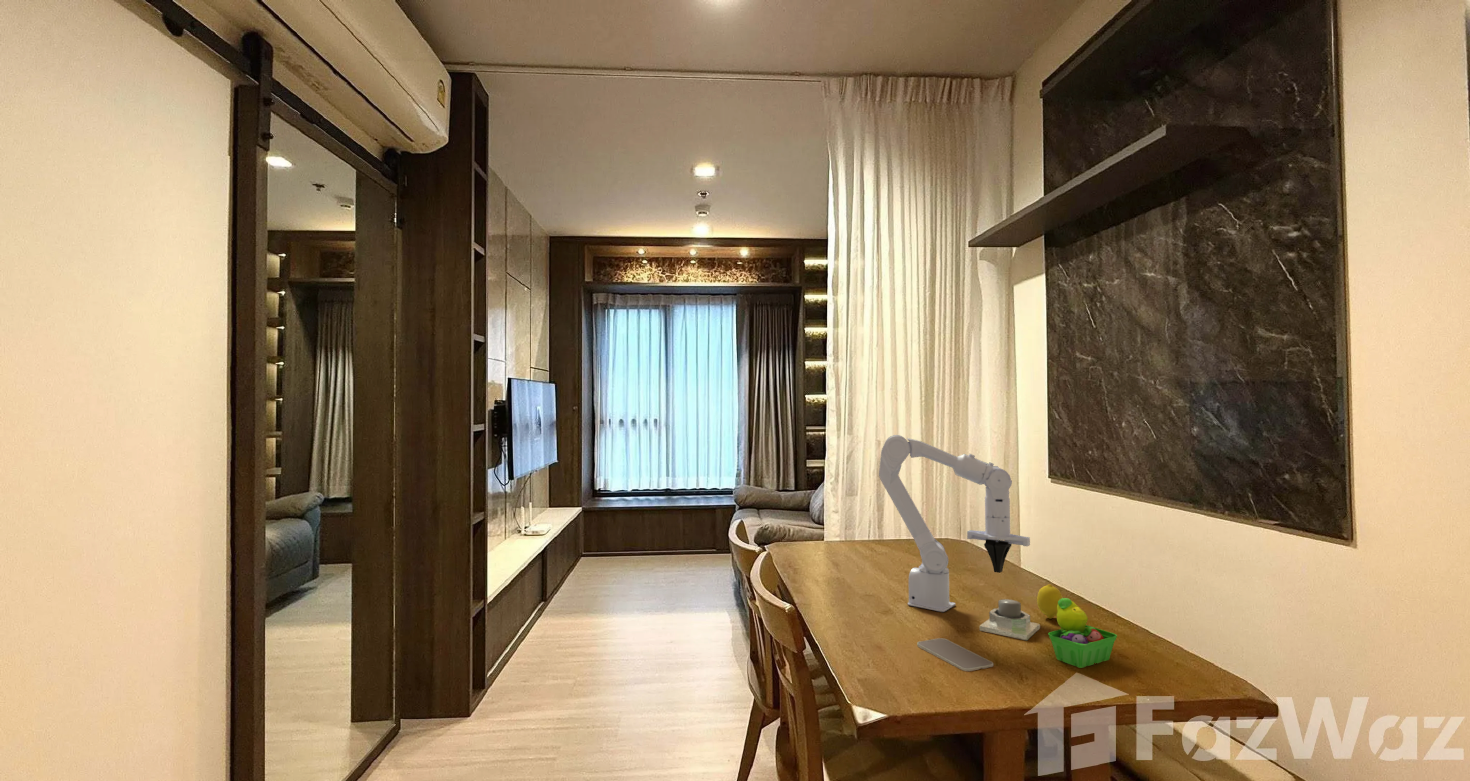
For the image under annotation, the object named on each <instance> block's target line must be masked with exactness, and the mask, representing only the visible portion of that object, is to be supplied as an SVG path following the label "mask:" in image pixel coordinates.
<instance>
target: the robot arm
mask: <svg viewBox="0 0 1470 781" xmlns="http://www.w3.org/2000/svg"><path fill="white" fill-rule="evenodd" d="M909 456H910V458H911V459H914V458H925V459H928V460H931V461H934V462H936V463H939V464H940V465H941V464H942V465H944V466H947V467H949V468H952V470H953V472H954V474H955V475H956V476H958V477H960V478H962V479H966V480H967V481H970V482H972V483H975V484H977V485H979V486H980V485H984V486H985V488H984V489H985V496H984V522H985V523H984V525H985V526H984V527H985V529H984V530H970V529H969V530H967V532H966V534H967V535H966V536H967V537H966V538H967V539H968V540H977V541H984V542H985V543H984V544H983V546H984V549H985V550H986V551H987V553H988V556H989V558H990V560H991V564H992V569H993V571H994V573H999V574H1001V573H1002V572H1003V569H1004V565H1005V562H1006V558H1007V555H1008V553H1009V551H1010V549H1011V547H1012V546H1013V545H1016V546H1017V545H1018V546H1023V547H1030V545H1031V537H1029V536H1022V535H1019V534H1018V535H1017V534H1013V533H1011V506H1010V505H1011V501H1010V488H1011V487H1012V484H1013V480H1011V479H1012V478H1011V475H1010V474H1009V472H1008V471H1007V470H1005V469H1002V468H1001V467H999V466H998V465H995V464H994V463H993V462H989V463H987V462H985V461H983V460H981V459H978V458H976V456H975V455H974V454H972V453H969V454H965V453H963V454H960V455H958V456H956V455H953V454H952V453H949V452H947V451H944V450H943V449H940V448H938V447H936V446H934V445H931V444H929V443H926V442H924V441H921V440H918V439H914V438H911V437H906V438H905V437H904V436H902V435H900V434H893V435H891V436H889V437H888V438H887V439H886V440H885V441H884V443H883V446H882V448H881V451H880V457H879V458H880V459H879V460H880V461H879V470H878V477H879V480H880V482H881V483H882V485H883V487H884V488H885V490H886V492H887V494H888V496H889V497H890V499H891V501H892V503H893V504H894V506H895V508H896V510H897V511H898V514H899V515H900V518H902V521H903V523H904V524H905V526H906V528H907V529H908V531H909V533H910V534H911V536H912V539H913V540H914V543H915V544H916V547H917V548H918V550H919V554H920V557H921V564H920V565H919V566H918V567H912V568H911V570H910V571H909V574H908V602H907V605H908V606H911V607H915V608H921V609H927V610H932V611H936V612H941V613H944V612H947V611H949V610H950V609H951V608H953V607H955V606H956V602H952V601H950V569H949V568H948V565H949V556H948V553H947V552H946V549H945V546H944V545H943V544H942V543H941V542H939V541H938V540H937V539H936V538H935V536H933V535H934V534H932V532H931V530H930V528H929V527H928V525H927V523H926V522H925V520H924V518H923V517H922V514H921V513H920V511H919V509H918V508H917V505H916V504H915V503H914V500H913V499H912V497H911V495H910V493H909V492H908V490H907V488H906V486H905V485H904V483H903V481H902V479H901V478H900V476H899V474H900V471H901V469H902V464H903V463H904V461H905V460H906V459H907V458H908V457H909Z"/></svg>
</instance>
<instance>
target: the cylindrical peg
mask: <svg viewBox="0 0 1470 781" xmlns="http://www.w3.org/2000/svg"><path fill="white" fill-rule="evenodd" d="M1021 606H1022V604H1021V602H1020V601H1018V600H1013V599H1005V598H1004V599H999V600H998V608H999V616H1003V617H1008V618H1021V611H1022V609H1021V608H1022V607H1021Z"/></svg>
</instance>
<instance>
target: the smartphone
mask: <svg viewBox="0 0 1470 781" xmlns="http://www.w3.org/2000/svg"><path fill="white" fill-rule="evenodd" d="M916 646H917V647H918V648H920V649H921V650H923V651H925V652H927V653H929V654H931V655H933V656H935V657H936V658H938V659H940V660H942V661H944V662H946V663H948V664H949V665H952V667H955V668H957V669H959V670H961V671H963V672H973V671H976V670H980V669H989V668H993V667H994V662H993V661H991V660H988V659H987V658H984V657H983V656H981V655H979V654H977V653H975V652H973V651H971V650H968V649H966V648H965V647H962V646H960V645H959V644H957V643H954V642H953V641H951V640H949V639H946V638H940V637H939V638H934V639H928V640H927V639H926V640H920V641H917V645H916Z"/></svg>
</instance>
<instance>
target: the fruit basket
mask: <svg viewBox="0 0 1470 781" xmlns="http://www.w3.org/2000/svg"><path fill="white" fill-rule="evenodd" d="M1057 610H1058V612H1057V616H1056V621H1057V624H1058V625H1059V626H1058V627H1060V629H1057V630H1053V631H1050V632H1048V633H1047V634H1048V637H1049V639H1050V641H1051V644H1052V645H1051V646H1052V648H1053V650H1054V654H1055V658H1056V660H1058V661H1060V662H1063V663H1066V664H1067V665H1071V666H1074V667H1077V668H1079V669H1082V668H1086V667H1089V666H1094V665H1095V664H1096V663H1097V664H1100V663H1102V662H1107V661H1110V659H1111V655H1112V654H1111V653H1112V651H1113V647H1114V644H1115V641H1116V640H1117V638H1118V635H1117V634H1115V633H1114V632H1110V631H1107V630H1105V629H1100V628H1096V627H1094V626H1091V625H1087V622H1088V619H1089V618H1088V615H1087V613H1086V612H1085V611H1084V609H1082V608H1081V607H1080V606H1079V605H1077V604H1076V603H1075V601H1072V599H1070V598H1068V597H1062V599H1060V600H1059V601H1058V605H1057ZM1094 663H1095V664H1094Z"/></svg>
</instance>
